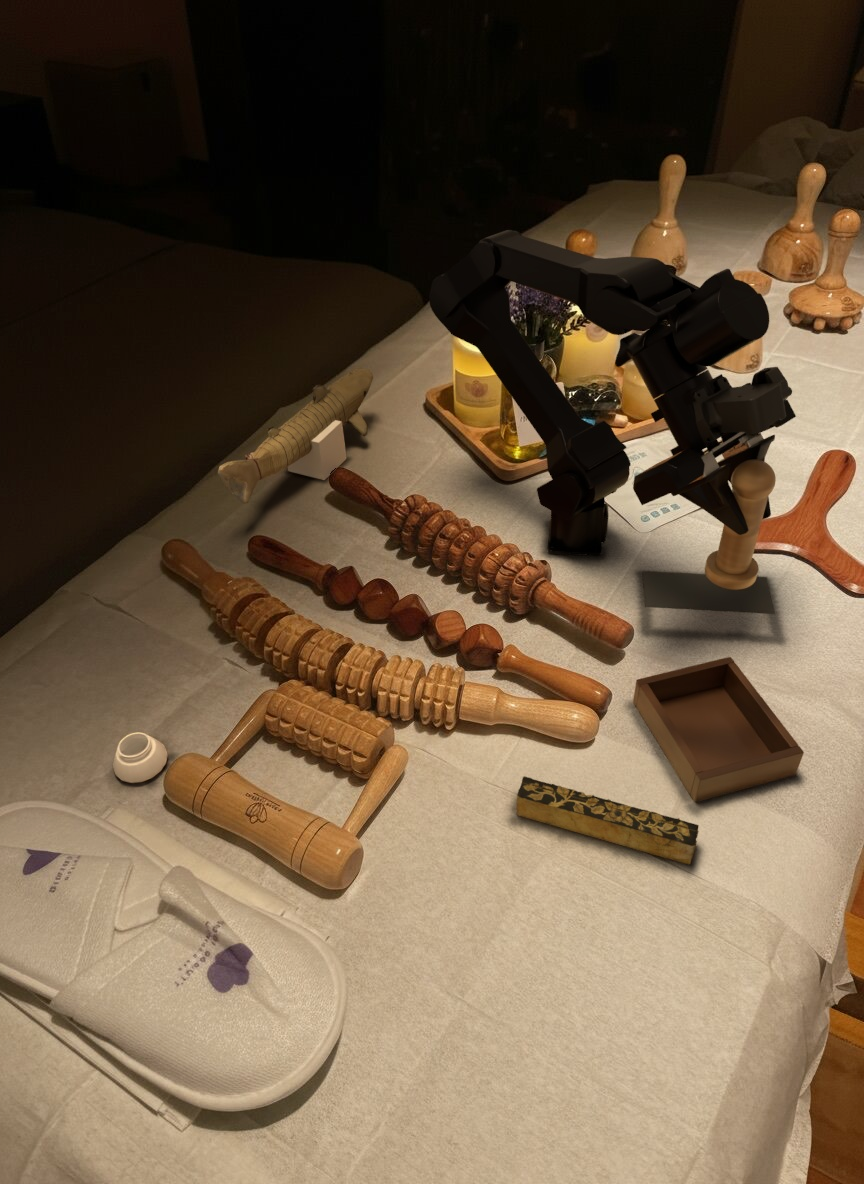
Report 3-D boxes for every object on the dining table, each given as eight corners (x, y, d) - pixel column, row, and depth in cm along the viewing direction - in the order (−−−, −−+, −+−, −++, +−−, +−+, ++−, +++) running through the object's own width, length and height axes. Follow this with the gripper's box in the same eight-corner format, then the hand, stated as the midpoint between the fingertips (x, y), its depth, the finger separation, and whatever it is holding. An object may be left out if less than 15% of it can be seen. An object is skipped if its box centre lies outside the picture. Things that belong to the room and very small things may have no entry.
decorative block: (694, 846, 75) (700, 822, 73) (690, 870, 73) (696, 846, 71) (522, 797, 80) (523, 773, 77) (514, 818, 78) (515, 794, 76)
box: (632, 705, 87) (636, 679, 85) (723, 682, 89) (730, 656, 87) (693, 806, 78) (700, 780, 76) (794, 778, 80) (804, 752, 77)
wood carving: (207, 534, 112) (187, 460, 105) (346, 409, 136) (337, 341, 128) (264, 551, 109) (247, 476, 102) (396, 420, 132) (391, 351, 125)
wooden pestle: (721, 594, 88) (748, 482, 79) (695, 563, 92) (718, 453, 83) (766, 583, 89) (798, 471, 80) (738, 553, 93) (766, 443, 84)
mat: (646, 632, 95) (647, 628, 95) (642, 573, 103) (643, 570, 102) (780, 640, 93) (781, 636, 93) (766, 580, 101) (766, 576, 100)
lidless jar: (147, 735, 87) (105, 767, 84) (140, 716, 85) (96, 748, 82) (178, 760, 84) (135, 794, 82) (171, 741, 83) (127, 774, 80)
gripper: (676, 384, 73) (763, 547, 74) (801, 317, 82) (877, 463, 83) (597, 431, 83) (674, 574, 84) (716, 366, 92) (784, 496, 92)
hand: (755, 525), depth 85 cm, fingers closed on wooden pestle, 3 cm apart
